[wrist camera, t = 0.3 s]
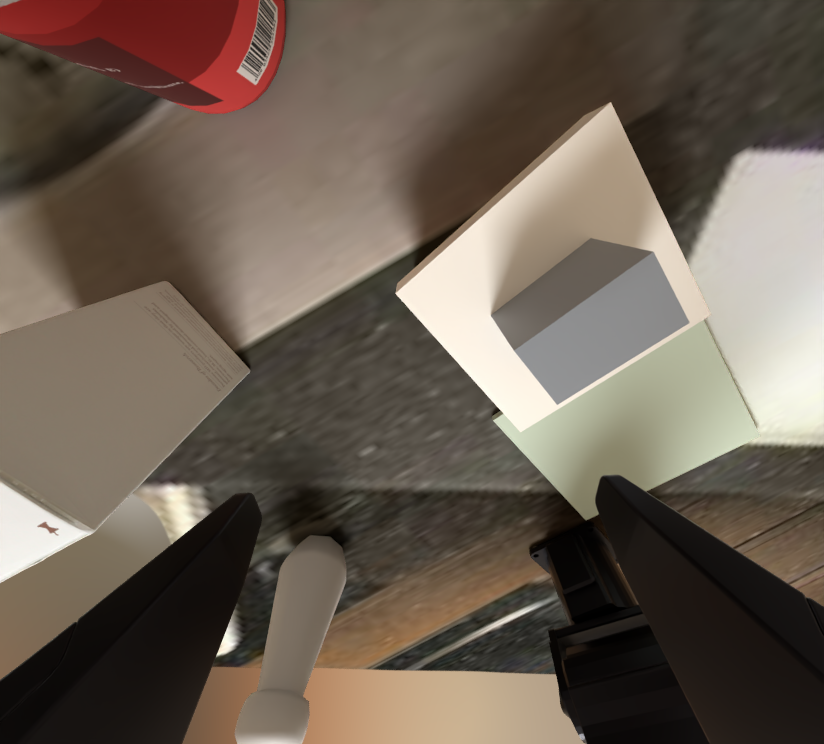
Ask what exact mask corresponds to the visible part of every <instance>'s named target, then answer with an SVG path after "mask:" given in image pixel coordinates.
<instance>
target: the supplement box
mask: <svg viewBox="0 0 824 744" xmlns="http://www.w3.org/2000/svg"><path fill="white" fill-rule="evenodd" d="M249 373H250V369H249V368H248V367H247V366H246V365H245V364H244V362H243V361H242V360H241V359H240V358H239V357H238V356H237V355H236V354H235V353H234V351H233V350H232V349H231V348H230V347H229V346H228V345H227V344H226V343H225V342H224V340H223V339H222V338H221V337H220V336H219V335H218V334H217V333H216V332H215V331H214V330H213V329H212V327H211V326H210V325H209V324H208V323H207V322H206V321H205V320H204V319H203V318H202V317H201V316H200V314H199V313H198V312H197V311H196V310H195V309H194V308H193V307H192V306H191V305H190V304H189V303H188V301H187V300H186V299H185V298H184V297H183V296H182V295H181V294H180V293H179V292H178V291H177V290H176V289H175V288H174V287H173V286H172V285H171V284H170V283H169V282H167V281H162V282H158V283H155V284H152V285H149V286H146V287H142V288H139V289H136V290H133V291H130V292H127V293H124V294H121V295H118V296H115V297H112V298H109V299H106V300H103V301H100V302H97V303H94V304H91V305H88V306H84V307H81V308H78V309H75V310H72V311H69V312H66V313H63V314H60V315H57V316H54V317H51V318H48V319H45V320H42V321H40V322H36V323H33V324H30V325H27V326H24V327H21V328H18V329H15V330H12V331H9V332H6V333H3V334H0V583H1V582H3V581H4V580H6V579H8V578H10V577H11V576H13V575H15V574H17V573H19V572H21V571H23V570H24V569H26V568H28V567H30V566H32V565H35V564H37V563H39V562H41V561H43V560H44V559H45V558H47V557H48V556H50V555H52V554H54V553H56V552H58V551H60V550H61V549H63V548H65V547H67V546H69V545H71V544H72V543H74V542H76V541H78V540H80V539H82V538H84V537H86V536H88V535H90V534H92V533H94V532H95V531H96V530H97V529H98V528H99V527H100V526H101V525H102V524H103V523H104V521H105V520H106V519H107V518H108V517H109V516H110V515H111V514H112V513H113V512H114V511H115V510H116V509H117V508H118V507H119V506H120V505H121V504H122V503H123V502H124V501H125V500H126V499H127V498H128V497H129V496H130V495H131V494H132V493H133V492H134V491H135V490H136V489H137V488H138V487H139V486H140V485H141V484H142V483H143V482H144V480H145V479H146V478H147V477H148V476H149V475H150V474H151V473H152V472H153V471H154V470H155V469H156V468H157V467H158V466H159V465H160V464H161V463H162V462H163V461H164V460H165V459H166V458H167V457H168V456H169V455H170V454H171V453H172V452H173V451H174V450H175V449H176V447H177V446H178V445H179V444H180V443H181V442H182V441H183V440H184V439H185V438H186V437H187V436H188V435H189V434H190V433H191V432H192V431H193V430H194V429H195V428H196V427H197V426H198V425H199V424H200V423H201V422H202V421H203V420H204V419H205V418H206V417H207V416H208V415H209V414H210V412H211V411H212V410H213V409H214V408H215V407H216V406H217V405H218V404H219V403H220V402H221V401H222V400H223V399H224V398H225V397H226V396H227V395H228V394H229V393H230V392H231V391H232V390H233V389H234V388H235V387H236V386H237V385H238V384H239V383H240V382H241V380H242V379H243V378H244V377H245V376H246V375H247V374H249Z"/></svg>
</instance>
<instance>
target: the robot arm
mask: <svg viewBox="0 0 824 744" xmlns="http://www.w3.org/2000/svg"><path fill="white" fill-rule="evenodd" d="M595 504H596V508H597V510H598V513H599V515H600V518H601V520H602V523H603V526H604V528H605V531H606V533H607V536H608V538H609V540H608V539H607V538H606V537H605V535H604V534H603V533H602V532H601V531H600V530H599V529H598V528H597V527H596V526H595V525H594V524H593V523H591V522H588V523H585V524H583V525H581V526H579V527H577V528H575V529H573V530H571V531H569V532H567V533H565V534H562V535H560V536H558V537H556V538H554V539H552V540H550V541H548V542H546V543H544V544H542V545H540V546H537V547H535V548H533V549H531V550H530V552H529V553H530V556H531V558H532V559H533V560H534V561H535V562H537V563H538V564H539V565H540V566H541V567H542V568H543V569H544V570H546V571H547V572H548V573H549V574H550V575H551V578H552V580H553V583H554V586H555V589H556V591H557V594H558V597H559V600H560V602H561V605H562V608H563V611H564V613H565V616H566V619H567V621H568V624H569V626H565V627H562V628H559V629H555V628H554V629H550V630H548V633H549V637H550V642H549V644H550V648H551V653H552V658H553V662H554V667H555V672H556V676H557V681H558V686H559V696H560V704H561V708H562V710H563V712H564V714H566V715H567V716H568V717H569V718H570V719H571V721H572V722H573V724H574V727H575V729H576V731H577V733H578V735H579V736H580V738H581V740H582V741H583V742H584V743H585V744H824V607H823V606H822V605H820V604H819V603H817V602H816V601H814V600H813V599H811V598H808V597H807V598H806V597H805V595H804V594H803V593H802V592H800V591H798V590H797V589H795V588H794V587H792V586H791V585H789V584H788V583H786V582H785V581H783V580H782V579H780V578H778V577H777V576H775V575H774V574H772V573H771V572H769V571H768V570H766V569H765V568H763V567H761V566H760V565H758V564H757V563H755V562H754V561H752V560H751V559H749V558H748V557H746V556H745V555H743V554H741V553H740V552H738V551H737V550H735V549H734V548H732V547H731V546H729V545H728V544H726V543H724V542H723V541H721V540H720V539H718V538H717V537H715V536H714V535H712V534H711V533H709V532H708V531H706V530H704V529H703V528H701V527H700V526H698V525H697V524H695V523H694V522H692V521H691V520H689V519H688V518H686V517H684V516H683V515H681V514H680V513H678V512H677V511H675V510H674V509H672V508H671V507H669V506H667V505H666V504H664V503H663V502H661V501H660V500H658V499H657V498H655V497H654V496H652V495H651V494H649V493H647V492H646V491H644V490H643V489H641V488H640V487H638V486H637V485H635V484H634V483H632V482H630V481H629V480H627V479H626V478H624V477H623V476H621V475H617V474H614V475H603V476H601V478H600V480H599V484H598V488H597V492H596V496H595ZM261 521H262V515H261V512H260V509H259V507H258V504H257V502H256V499H255V497H254V495H253V494H252V493H237V494H235V495H233V496H232V497H230V498H229V499H228V500H227V501H225V502H224V503H223V504H222V505H220V506H219V507H218V508H217V509H215V510H214V511H213V512H212V513H210V514H209V515H208V516H207V517H205V518H204V519H203V520H202V521H200V522H199V523H198V524H197V525H195V526H194V527H193V528H192V529H190V530H189V531H188V532H187V533H185V534H184V535H183V536H182V537H180V538H179V539H178V540H177V541H175V542H174V543H173V544H172V545H170V546H169V547H168V548H167V549H165V550H164V551H163V552H162V553H160V554H159V555H158V556H157V557H155V558H154V559H153V560H152V561H150V562H149V563H148V564H147V565H145V566H144V567H143V568H142V569H140V570H139V571H138V572H137V573H136V574H134V575H133V576H132V577H130V578H129V579H128V580H127V581H125V582H124V583H123V584H122V585H120V586H119V587H118V588H117V589H115V590H114V591H113V592H112V593H110V594H109V595H108V596H107V597H105V598H104V599H103V600H102V601H100V602H99V603H98V604H96V605H95V606H94V607H93V608H91V609H90V610H89V611H88V612H86V613H85V614H84V615H83V616H82V617H80V618H79V619H78V621H77V622H74V623H73V624H71V625H70V626H69V627H68V628H66V629H65V630H64V631H63V632H61V633H60V634H59V635H58V636H56V637H55V638H54V639H53V640H51V641H50V642H49V643H47V644H46V645H45V646H44V647H42V648H41V649H40V650H39V651H37V652H36V653H35V654H33V655H32V656H31V657H29V658H28V659H27V660H26V661H24V662H23V663H22V664H20V665H19V666H18V667H17V668H15V669H14V670H13V671H11V672H10V673H9V674H7V675H6V676H5V677H3V678H2V679H1V680H0V744H182V743H183V740H184V738H185V735H186V732H187V730H188V728H189V725H190V722H191V720H192V717H193V714H194V712H195V709H196V707H197V704H198V702H199V699H200V696H201V694H202V691H203V689H204V686H205V683H206V681H207V678H208V676H209V673H210V671H211V668H212V665H213V663H214V660H215V658H216V655H217V653H218V650H219V647H220V645H221V642H222V640H223V637H224V634H225V632H226V629H227V627H228V624H229V622H230V619H231V616H232V614H233V611H234V609H235V606H236V603H237V601H238V598H239V596H240V593H241V590H242V587H243V585H244V582H245V579H246V575H247V572H248V568H249V565H250V561H251V558H252V554H253V551H254V547H255V544H256V540H257V536H258V533H259V529H260V526H261ZM618 563H619V566H620V568H621V570H622V572H623V574H624V576H625V577H624V576H623V574H622V572H621V570H620V568H619V567H618V565H617V564H618ZM625 578H626V579H625ZM626 580H627V581H626ZM627 582H628V583H627ZM628 584H629V585H628Z"/></svg>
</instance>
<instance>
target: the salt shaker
mask: <svg viewBox="0 0 824 744" xmlns="http://www.w3.org/2000/svg"><path fill="white" fill-rule="evenodd" d="M346 568H347V567H346V562H345V558H344V553H343V549H342V547H341V546H340V545H339V544H338V543H337V542H336V541H334V540H333V539H332V538H331V537H328V536H315V535H310V536H308V537H307V538H306V539H305V540H303V541H302V542H301V543H299V544H298V545H297V547H296V548H295V549H294V550H293V551H292V552H291V553H290V554H289V555H288V557H287V558H286V560H285V561H284V562H283V564H282V566H281V568H280V573H279V578H278V583H277V589H276V594H275V599H274V605H273V610H272V615H271V620H270V626H269V631H268V636H267V642H266V647H265V652H264V658H263V663H262V668H261V674H260V680H259V684H258V689H257V692H254V693H252V694H251V695H250V696H249V697H248V698H247V700H246V701H245V703H244V705H243V707H242V709H241V712H240V715H239V718H238V721H237V726H236V730H235V737H236V740H237V744H302V742H303V739H304V737H305V733H306V731H307V727H308V720H309V701H308V700H306V699H305V698H304V697H303V694H304V691H305V688H306V685H307V683H308V681H309V678H310V675H311V672H312V670H313V667H314V665H315V662H316V659H317V657H318V654H319V651H320V649H321V646H322V644H323V641H324V638H325V636H326V633H327V630H328V628H329V625H330V622H331V620H332V617H333V615H334V612H335V609H336V607H337V604H338V601H339V599H340V596H341V593H342V591H343V588H344V586H345V583H346Z"/></svg>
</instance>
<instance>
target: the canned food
mask: <svg viewBox="0 0 824 744" xmlns="http://www.w3.org/2000/svg"><path fill="white" fill-rule="evenodd" d="M285 24H286V13H285V4H284V0H0V33H1V34H4V35H6V36H9V37H11V38H14V39H16V40H19V41H21V42H24V43H26V44H29V45H31V46H34V47H36V48H39V49H41V50H44V51H46V52H49V53H51V54H54V55H56V56H59V57H61V58H64V59H66V60H69V61H71V62H74V63H76V64H79V65H81V66H84V67H86V68H89V69H91V70H94V71H96V72H99V73H101V74H104V75H106V76H109V77H111V78H114V79H117V80H119V81H122V82H124V83H127V84H129V85H132V86H134V87H137V88H139V89H142V90H144V91H147V92H149V93H152V94H154V95H157V96H159V97H162V98H164V99H167V100H169V101H172V102H174V103H177V104H179V105H182V106H184V107H187V108H189V109H192V110H196V111H200V112H204V113H208V114H218V113H228V112H231V111H235V110H239V109H242V108H244V107H246V106H248V105H249V104H251V103H253V102H254V101H256V100H257V99H258V98H259V97H260V96H261V95H262V94H263V93H264V92H265V91H266V90H267V89H268V87H269V85H270V84H271V82H272V80H273V78H274V77H275V75H276V73H277V70H278V67H279V64H280V61H281V58H282V54H283V48H284V42H285Z"/></svg>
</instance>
